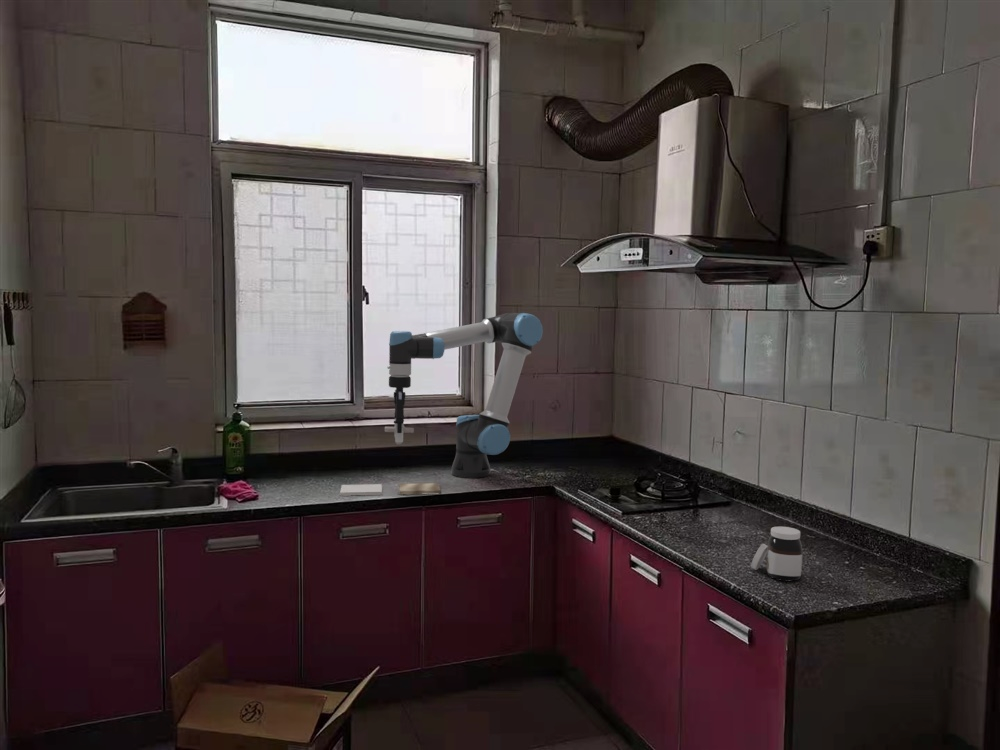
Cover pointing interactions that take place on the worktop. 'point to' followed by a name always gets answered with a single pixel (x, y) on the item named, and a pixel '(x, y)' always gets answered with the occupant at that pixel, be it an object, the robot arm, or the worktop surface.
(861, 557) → the worktop surface
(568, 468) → the worktop surface
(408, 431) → the pipe connector
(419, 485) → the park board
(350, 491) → the tile
